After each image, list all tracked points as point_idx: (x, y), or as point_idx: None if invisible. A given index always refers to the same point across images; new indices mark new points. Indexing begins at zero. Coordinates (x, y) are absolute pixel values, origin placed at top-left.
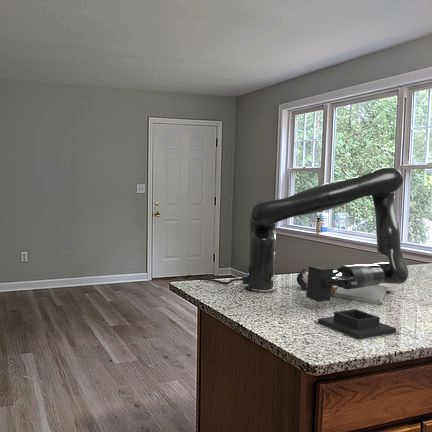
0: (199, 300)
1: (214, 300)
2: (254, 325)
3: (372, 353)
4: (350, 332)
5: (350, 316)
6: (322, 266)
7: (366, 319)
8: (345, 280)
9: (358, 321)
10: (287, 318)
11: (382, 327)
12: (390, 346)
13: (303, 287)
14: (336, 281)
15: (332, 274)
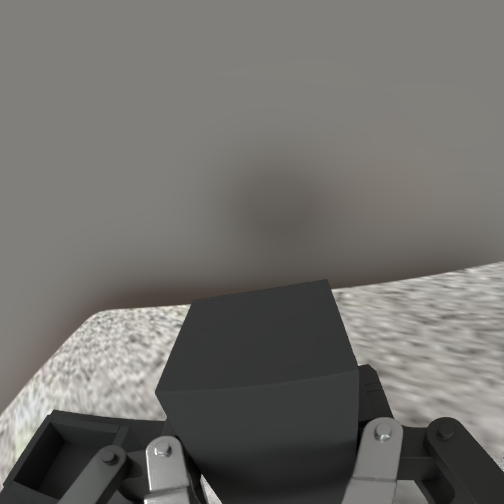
0: (454, 271)
1: (461, 288)
2: None
3: (31, 383)
4: (74, 414)
5: None
6: (297, 361)
7: (31, 440)
8: (82, 482)
9: (48, 417)
10: None
11: (14, 497)
12: (5, 429)
13: None
14: (144, 455)
15: (176, 430)
